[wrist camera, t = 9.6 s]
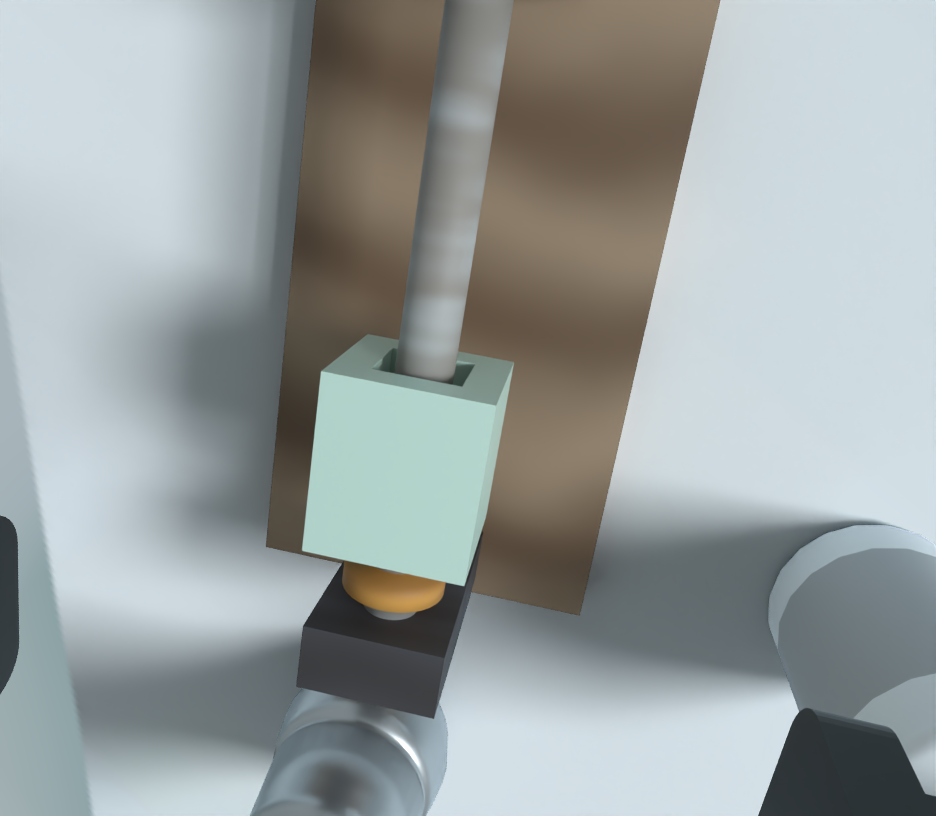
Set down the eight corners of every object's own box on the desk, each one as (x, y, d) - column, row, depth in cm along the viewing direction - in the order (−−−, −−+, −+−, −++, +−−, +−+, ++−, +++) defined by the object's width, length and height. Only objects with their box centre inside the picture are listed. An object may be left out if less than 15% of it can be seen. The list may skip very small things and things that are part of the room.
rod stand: (340, -96, 27) (207, -220, 18) (724, -41, 25) (791, -143, 16) (279, 529, 33) (162, 670, 24) (580, 594, 32) (572, 767, 23)
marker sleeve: (367, 334, 25) (320, 371, 21) (514, 361, 25) (496, 405, 20) (348, 487, 27) (302, 550, 22) (486, 516, 26) (464, 586, 22)
